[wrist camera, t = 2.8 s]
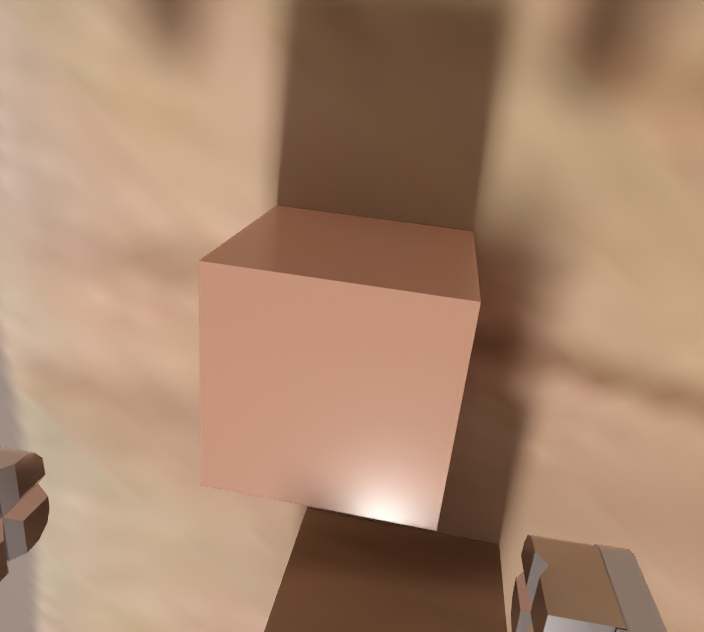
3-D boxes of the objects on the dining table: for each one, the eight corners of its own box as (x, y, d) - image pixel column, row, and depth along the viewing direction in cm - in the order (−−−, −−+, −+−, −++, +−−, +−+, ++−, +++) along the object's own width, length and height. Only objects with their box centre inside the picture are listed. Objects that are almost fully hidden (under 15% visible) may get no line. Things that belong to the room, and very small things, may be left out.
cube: (277, 204, 15) (198, 260, 10) (473, 230, 14) (480, 301, 10) (269, 375, 17) (201, 485, 12) (442, 404, 16) (436, 530, 12)
